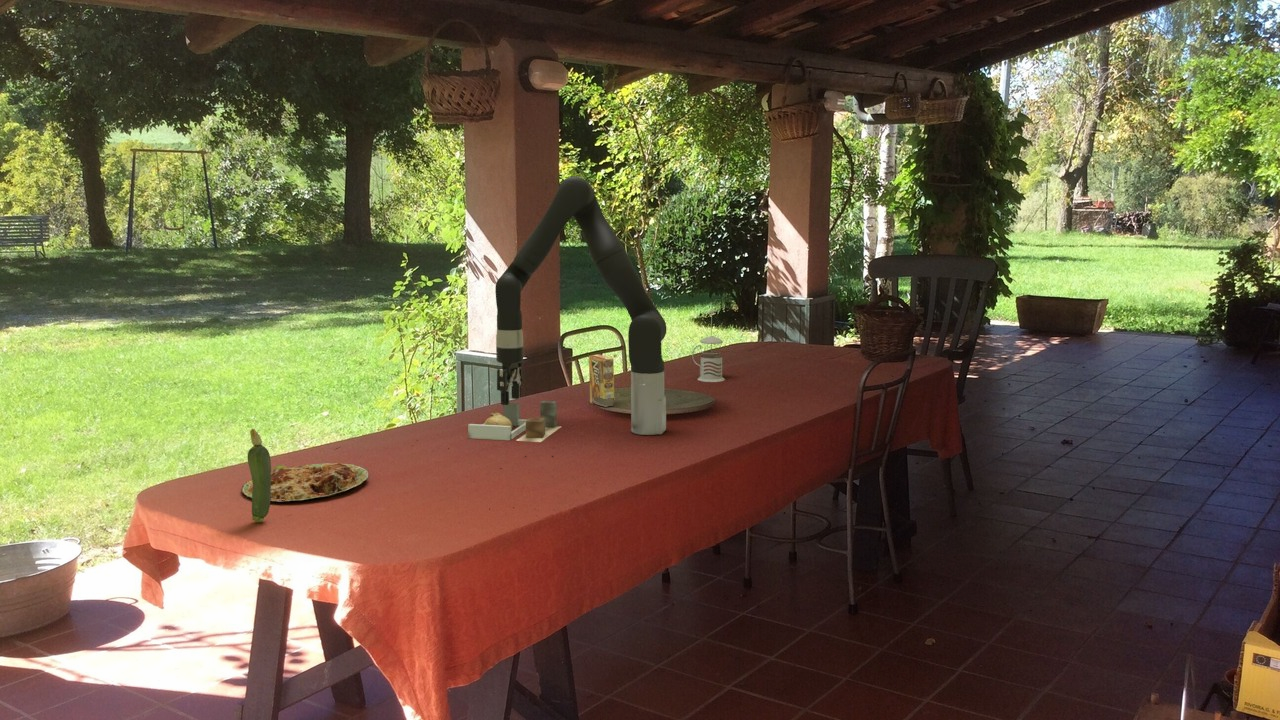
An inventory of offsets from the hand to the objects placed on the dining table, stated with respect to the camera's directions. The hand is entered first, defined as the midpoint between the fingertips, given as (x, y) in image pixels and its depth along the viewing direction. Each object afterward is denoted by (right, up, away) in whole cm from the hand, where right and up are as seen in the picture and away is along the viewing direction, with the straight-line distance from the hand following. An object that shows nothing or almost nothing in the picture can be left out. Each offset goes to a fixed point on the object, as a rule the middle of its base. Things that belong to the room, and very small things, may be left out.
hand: (510, 401), depth 288 cm
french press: (+61, +5, +74) cm, 96 cm away
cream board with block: (+9, -9, -10) cm, 16 cm away
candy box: (+25, -3, +33) cm, 41 cm away
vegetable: (-41, -22, -79) cm, 91 cm away
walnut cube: (+8, -9, -13) cm, 18 cm away
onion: (-2, -10, -9) cm, 14 cm away
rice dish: (-40, -18, -54) cm, 69 cm away
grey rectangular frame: (-2, -9, -7) cm, 12 cm away
